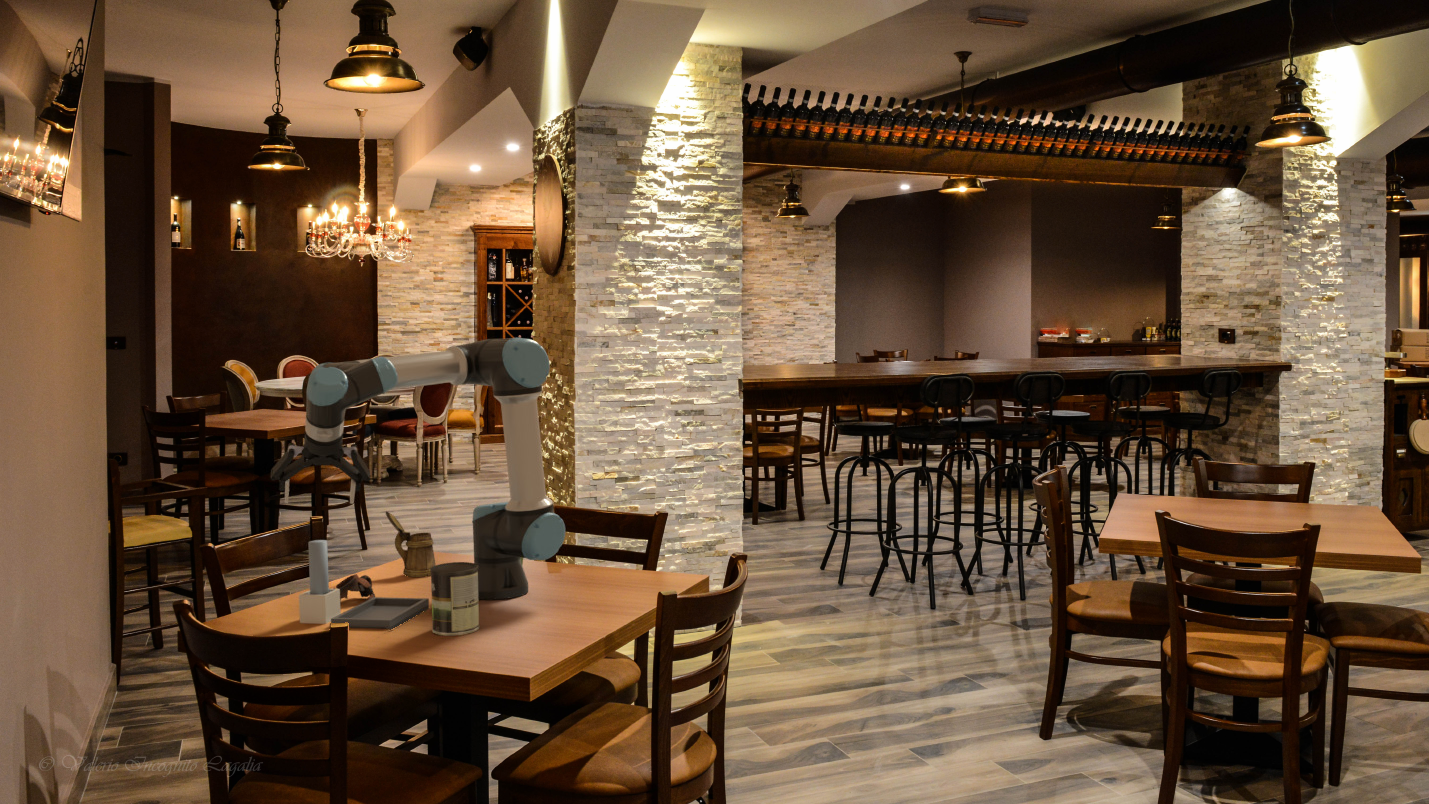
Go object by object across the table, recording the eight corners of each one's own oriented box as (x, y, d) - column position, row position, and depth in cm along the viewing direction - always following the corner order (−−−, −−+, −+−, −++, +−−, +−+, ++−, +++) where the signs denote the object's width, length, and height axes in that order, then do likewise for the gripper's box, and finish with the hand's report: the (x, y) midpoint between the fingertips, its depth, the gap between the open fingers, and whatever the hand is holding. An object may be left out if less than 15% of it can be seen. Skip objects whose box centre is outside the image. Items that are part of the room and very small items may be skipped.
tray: (429, 608, 246) (428, 598, 246) (390, 631, 226) (390, 620, 226) (374, 607, 248) (373, 597, 248) (331, 629, 228) (330, 618, 228)
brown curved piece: (371, 610, 247) (352, 583, 245) (340, 626, 249) (320, 599, 247) (389, 586, 259) (371, 560, 257) (359, 602, 260) (340, 576, 258)
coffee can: (427, 636, 221) (425, 572, 221) (437, 624, 232) (435, 562, 231) (476, 635, 222) (474, 570, 221) (483, 622, 232) (481, 561, 232)
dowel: (333, 617, 237) (330, 540, 236) (323, 621, 233) (321, 543, 232) (317, 616, 237) (314, 539, 236) (307, 621, 233) (304, 543, 232)
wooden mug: (389, 572, 288) (387, 508, 287) (439, 570, 290) (437, 506, 289) (384, 579, 279) (382, 513, 278) (436, 576, 281) (434, 511, 280)
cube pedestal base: (340, 618, 238) (339, 588, 237) (326, 626, 231) (325, 595, 231) (315, 618, 239) (314, 588, 238) (299, 625, 232) (298, 594, 232)
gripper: (258, 442, 208) (257, 511, 221) (386, 445, 218) (378, 511, 231) (260, 416, 213) (259, 486, 227) (385, 420, 223) (377, 487, 236)
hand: (319, 499), depth 229 cm, fingers open, 13 cm apart
